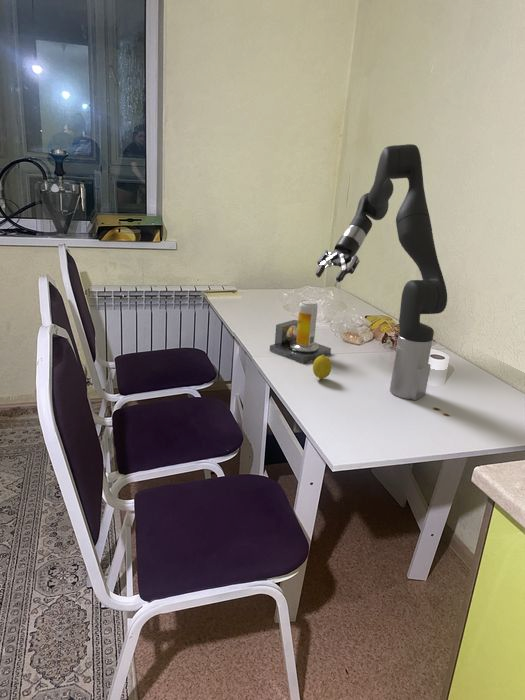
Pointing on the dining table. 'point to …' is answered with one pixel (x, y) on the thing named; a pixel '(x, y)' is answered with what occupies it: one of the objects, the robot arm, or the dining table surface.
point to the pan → (298, 348)
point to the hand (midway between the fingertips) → (327, 278)
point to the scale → (289, 333)
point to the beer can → (306, 323)
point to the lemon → (322, 367)
